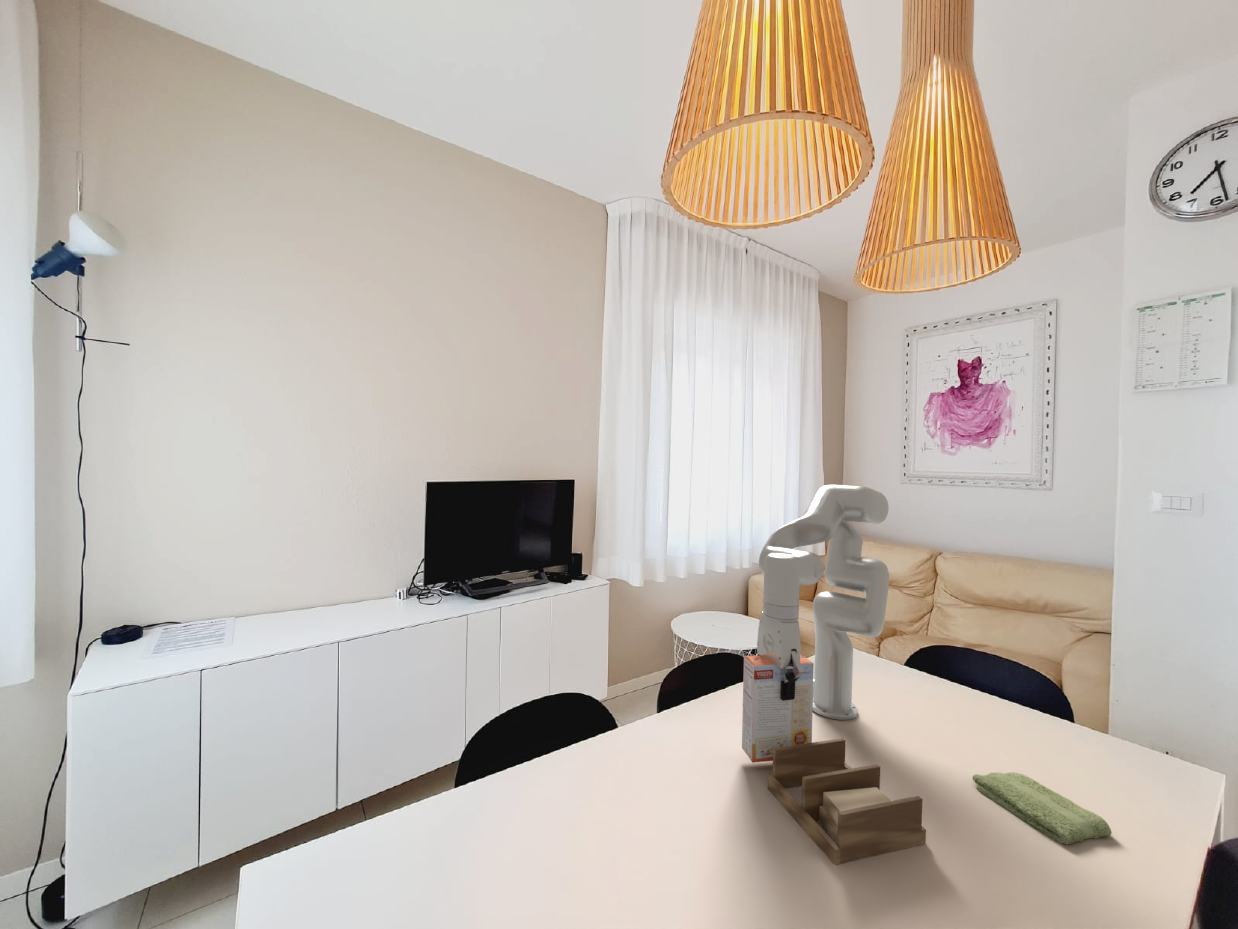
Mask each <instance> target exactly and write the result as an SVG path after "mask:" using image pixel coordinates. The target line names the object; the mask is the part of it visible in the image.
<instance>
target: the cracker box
mask: <svg viewBox="0 0 1238 929" xmlns="http://www.w3.org/2000/svg"><path fill="white" fill-rule="evenodd" d="M800 663H801V665H802V667H803V670H804V673H803V674H802V675H801V676H800V678H798V679H797V682H795V698H794V699H793V700H785V701H783V700H781V699H780V693H781V681H783V677H782V672H781V669H779V668H777V667H776V666H775V665H774V664H773V663H772V662H770V661H769V660H768V659H766V658H765V657H763V656H761V655H759V654H758V655H744V656H743V674H742V675H743V679H742V680H743V681H742V682H743V683H742V685H743V686H742V724H741V726H742V728H741V729H742V730H741V749H742V750H743V751H744V753H745V755H746V756H747V757H748V758H749V760H750V761H751V762H752V763H753V764H754V763H761V762H762V763H764V762H773V748H779V747H786V746H793V745H800V744H806V743H813V712H814V711H813V680H814V666H815V662H812V660H810V659H809V658H807V657H806V656H804V655H803V654H801V656H800ZM788 666H791V664H790V663H789V664H788ZM786 670H787V675H788V674H789V673H791V672H790V669H786Z"/></svg>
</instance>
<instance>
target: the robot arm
mask: <svg viewBox="0 0 1238 929" xmlns="http://www.w3.org/2000/svg"><path fill="white" fill-rule="evenodd" d="M888 502H889V501H888V499H887V498H886V495H884V494H883V493H882V492H881V491H877V490H875V489H874V488H870V487H866V486H862V485H847V484H825V485H823V486H821V487H820V488H818V490H816V492H815V494H814V496H813V498H812V499H811V501H810V503H809V504H808V506H807V508H806V509H805V511H804V512H803V515H802V517H800V518H797V519H794V520H792V521H791V522H789V523H786V524H784V525H783V526H781V527H779V528H778V529H775V531H773V532H772V533H771V535H770V536H769V537H768V539H767V540H766V543H765V544H764V545H763V547H762V550H761V552H760V555H759V557H758V558H759V559H758V566H759V570H760V572H761V573H762V574H763V595H762V596H763V597H762V599H763V600H762V611H761V614H760V616H759V617H760V618H759V623H758V629H757V630H758V631H757V640H756V652H757V654H758V655H761V656H763V657H765V658H766V659H768V660H769V661H770V662H772V663H773V664H774V665H775V666H776V667H777V668H779V669H781V672H782V677H783V681H781V693H780V699H781V700H783V701H785V700H793V699H794V698H795V682H797V679H798V678H800V676H801V675H802V674H803V673H804V670H803V667H802V665H801V663H800V656H801V655H802V654H801V651H802V650H801V631H800V623H799V615H800V614H799V610H800V586H812V585H815V584H816V583H818V582H819V581H820V580H821V579H822V577H823V576H824V579H825V580H824V581H825V582H826V583H827V584H828V585H829V586H831V587H833V588H834V587H835V588H837V589H843V590H846V591H851V592H857V593H862V594H864V595H865V597H861V596H855V595H851V594H845V593H842V592H837V591H836V592H835V591H828V590H827V591H822V592H821V591H820V592H819V593H818V594H816V595H815V597H814V598H813V600H812V601H813V602H812V614H813V621H814V630H815V633H814V634H815V635H814V636H815V639H814V640H815V643H814V644H815V647H814V668H813V712H815V713H816V714H818V715H820V716H823V717H826V718H829V719H833V720H841V721H848V720H852V719H855V718H856V717H858V713H859V712H858V711H859V710H858V707H857V706H856V705H855V704H854V703H853V702H852V698H853V671H854V670H853V669H854V668H853V667H854V666H853V665H854V647H853V646H854V645H853V642H852V640H851V638H850V636H849V634H848V633H852V634H856V635H860V636H864V637H870V638H877V637H878V636H880V635H881V633H882V632H883V629H884V625H885V619H886V611H887V610H886V609H887V602H888V595H889V586H890V574H889V573H890V572H889V568H888V566H887V565H886V563H884V561H883V560H880V559H876V558H871V557H866V556H865V557H864V556H862V551H863V550H862V549H863V543H864V541H863V537H862V535H861V533H860V532H859V530H858V529H857V528H856V526H855V525H854V524H853V523H852V522H854V523H855V522H856V523H864V524H865V523H866V524H872V525H873V524H875V525H877V524H881V523H883V522H884V521H885V520H886V519H887V517H888V514H889V503H888ZM827 541H828V548H827V553H826V554H827V556H826V562H825V565H824V562H823V559H822V557H820V556H819V555H818V554H817V553H815V552H811V551H807V550H800V549H796V548H801V547H805V546H811V545H812V546H813V545H816V544H821V543H825V542H827ZM847 632H848V633H847ZM789 663H790V664H791V666H788V664H789ZM786 669H790V672H791V673H789V674H788V675H787V670H786Z"/></svg>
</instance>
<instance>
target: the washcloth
mask: <svg viewBox="0 0 1238 929" xmlns="http://www.w3.org/2000/svg"><path fill="white" fill-rule="evenodd" d="M971 779H972V781H973V782H974V783H975V784H977V785H976V786H975V787H976V790H977V791H978V790H979V791H978V792H979V793H981V794H983V795H984V796H985V797H987V798H989V799H990V800H992V801H994V802H995V803H996V804H998V805H1000V806H1001V807H1003V808H1005V810H1008V811H1009V812H1010V813H1012V814H1014V815H1015V816H1016V817H1018V818H1020V819H1021V820H1023V821H1024V822H1026V823H1028V824H1029V825H1030V826H1032V827H1033V828H1035V829H1038V831H1040V832H1042V833H1044V834H1045V835H1046V836H1047V837H1049V838H1052V839H1053V840H1054V841H1056V842H1057V843H1060V844H1063V845H1069V844H1072V843H1073V844H1074V843H1079V842H1084V840H1087V839H1089V838H1090V839H1099V838H1103V837H1105V838H1107V837H1110V836H1111V835H1112V833H1113V832H1112V830H1111V827H1110V825H1109V824H1108V822H1107V821H1106V820H1105V819H1104V818H1103V817H1102V816H1100V815H1099V814H1097V813H1094V811H1091V810H1088V809H1086V808H1084V807H1082V806H1080V805H1079V804H1077V803H1075V802H1074V801H1072V800H1071V799H1069V798H1067V797H1066V796H1063V795H1062V794H1059V793H1057V792H1055V791H1053V790H1051V789H1050V788H1048V787H1046V786H1045V785H1043V784H1041V783H1040V782H1038V781H1037V780H1035V779H1033V777H1032V778H1031V777H1030V776H1028V775H1026V774H1023V773H1019V772H1014V771H1013V772H1012V771H1010V772H989V773H988V774H985V775H984V774H983V775H982V774H977V773H976V774H973V775H972V778H971Z"/></svg>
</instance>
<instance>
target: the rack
mask: <svg viewBox="0 0 1238 929" xmlns="http://www.w3.org/2000/svg"><path fill="white" fill-rule="evenodd" d="M846 741H847V740H846V739H845V738H843V737H841V738H836V739H834V738H833V739H828V740H821V741H812V743H806V744H800V745H793V746H786V747H779V748H773V761H772V775H768V776H767V790H768V791H769V792H770V793H771V794H772V795H773V796H774V797H775V799H776V800H777V801H778V802H779V803H780V805H782V806H783V808H784V809H785V810H786V811H787V812H788V814H790V816H792V818H793V819H794V820H795V821H796V822H797V824H798V825H799V826H800V827H801V828H802V829H803V830H804V832H805V833H806V834H807V835H808V836H809V837H810V839H812V841H813V842H814V843H815V844H816V845H817V847H818V848H819V849H821V851H822V852H823V853H824V854H825V856H827V858H828V859H829V860H830V861H831V862H832V864H834V866H836V865H840V864H845V863H848V862H854V861H857V860H862V859H866V858H867V859H868V858H871V857H874V856H879V855H883V854H887V853H891V852H897V851H899V850H904V849H908V848H909V849H910V848H913V847H917V846H922V845H926V840H927V839H926V838H927V828H925V827H924V826H923V824H922V823H923V798H922V797H921V796H920V795H915V796H911V797H906V798H905V797H904V798H901V799H895V800H891V801H889V802H884V803H879V804H874V805H869V806H864V807H859V808H854V809H849V810H844V811H839V812H838V830H837V844H836V843H835V842H834V841H833V840H832V839H831V838H830V837H829V835H828V834H827V832H826V831H825V829H824V828H823V827H821V826H820V825H819V824H818V823H817V821H818V822H819V806H823V792H832V791H842V790H852V789H862V788H873V787H877V788H878V789H879V790H880V789H881V766H880V765H879V764H870V765H866V766H858V767H853V768H852V767H851V766H850V765H849V764H847V762H846ZM797 787H801V805H800V803H799V802H798V801H797V800H796V799H795V798H794V797H793V795H791V793H790V792H789V791H787V789H789V788H797ZM880 791H881V790H880Z"/></svg>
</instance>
